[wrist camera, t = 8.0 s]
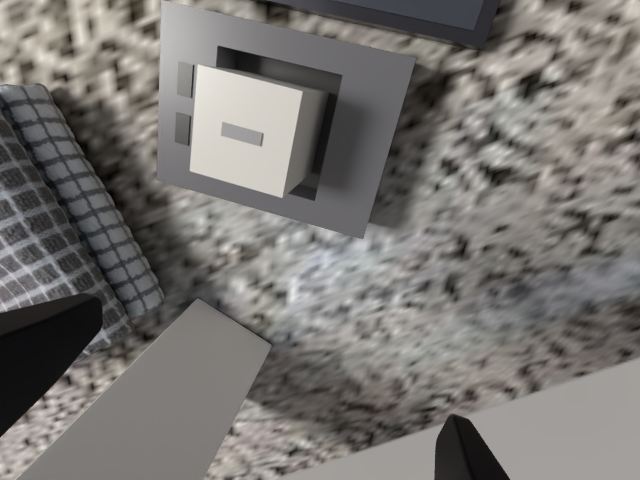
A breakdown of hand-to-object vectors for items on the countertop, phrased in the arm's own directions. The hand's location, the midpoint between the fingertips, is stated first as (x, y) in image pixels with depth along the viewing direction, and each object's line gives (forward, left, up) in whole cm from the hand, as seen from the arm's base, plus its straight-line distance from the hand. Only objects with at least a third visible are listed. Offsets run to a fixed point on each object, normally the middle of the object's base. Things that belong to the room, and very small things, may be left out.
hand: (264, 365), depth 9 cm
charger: (+4, -4, -12) cm, 13 cm away
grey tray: (+4, -4, -12) cm, 13 cm away
